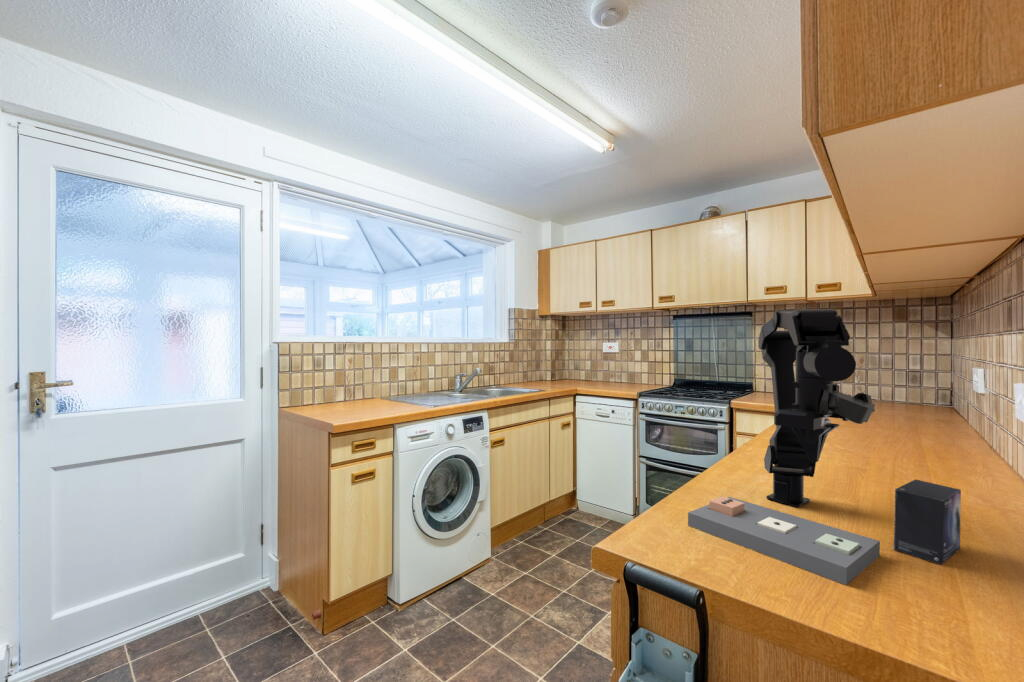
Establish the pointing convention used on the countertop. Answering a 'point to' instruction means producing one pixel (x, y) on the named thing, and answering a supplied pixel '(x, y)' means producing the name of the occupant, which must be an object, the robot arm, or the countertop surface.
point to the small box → (927, 520)
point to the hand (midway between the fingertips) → (813, 461)
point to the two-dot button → (837, 544)
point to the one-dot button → (777, 525)
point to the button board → (789, 540)
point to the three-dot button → (726, 506)
